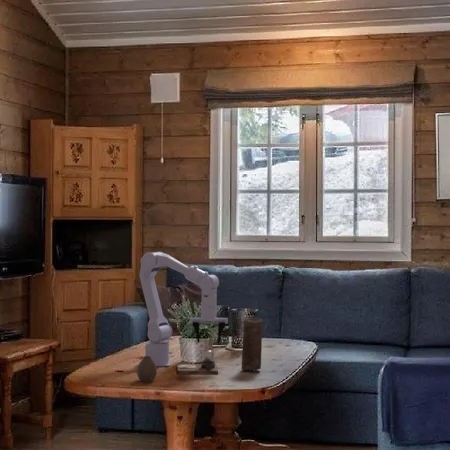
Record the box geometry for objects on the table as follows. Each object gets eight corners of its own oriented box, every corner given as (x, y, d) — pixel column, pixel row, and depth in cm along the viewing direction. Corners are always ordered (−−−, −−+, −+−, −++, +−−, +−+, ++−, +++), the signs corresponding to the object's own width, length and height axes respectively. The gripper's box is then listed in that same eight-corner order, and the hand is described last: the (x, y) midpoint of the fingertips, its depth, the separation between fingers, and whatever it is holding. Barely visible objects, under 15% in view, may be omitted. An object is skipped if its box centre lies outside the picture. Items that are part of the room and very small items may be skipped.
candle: (263, 370, 346) (264, 317, 345) (258, 373, 339) (259, 320, 338) (244, 368, 348) (245, 316, 348) (238, 371, 341) (239, 318, 341)
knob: (202, 363, 340) (202, 350, 340) (201, 361, 345) (202, 348, 344) (214, 363, 340) (214, 350, 340) (213, 361, 345) (214, 348, 345)
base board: (177, 373, 335) (177, 365, 335) (177, 367, 349) (177, 358, 349) (218, 374, 336) (218, 365, 336) (216, 367, 350) (216, 359, 350)
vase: (137, 379, 323) (137, 354, 323) (156, 379, 324) (156, 354, 324) (136, 383, 316) (137, 358, 316) (156, 383, 317) (157, 358, 317)
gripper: (190, 307, 340) (189, 343, 340) (228, 307, 341) (228, 343, 341) (189, 305, 347) (189, 341, 347) (227, 305, 348) (226, 341, 348)
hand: (208, 342), depth 344 cm, fingers open, 7 cm apart
